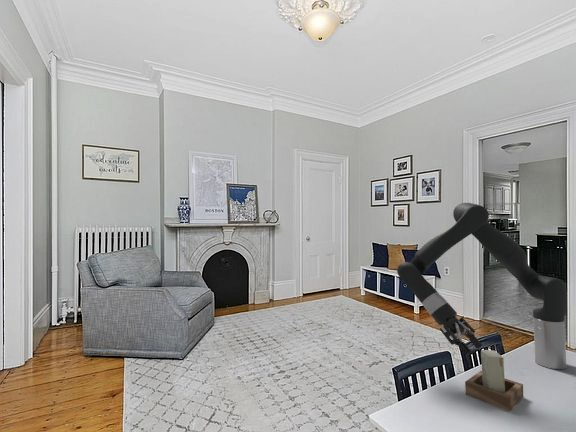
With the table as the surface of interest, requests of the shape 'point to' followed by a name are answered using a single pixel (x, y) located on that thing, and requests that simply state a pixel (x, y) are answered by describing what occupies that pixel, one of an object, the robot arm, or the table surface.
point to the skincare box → (493, 370)
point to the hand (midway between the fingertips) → (474, 350)
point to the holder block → (495, 392)
